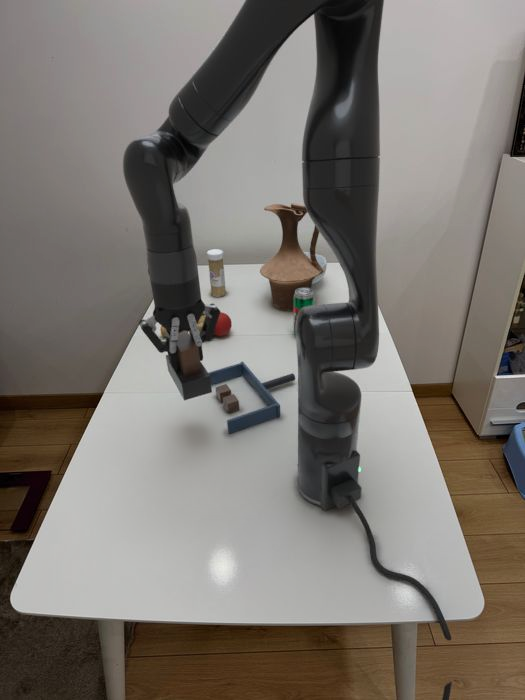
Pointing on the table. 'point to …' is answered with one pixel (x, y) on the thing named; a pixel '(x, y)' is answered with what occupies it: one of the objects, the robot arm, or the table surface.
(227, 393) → the crumb
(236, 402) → the crumb
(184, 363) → the eraser
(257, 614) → the table surface
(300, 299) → the soda can
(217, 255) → the sprinkles bottle
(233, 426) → the frame
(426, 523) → the table surface
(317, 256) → the cereal bowl
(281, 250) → the pitcher
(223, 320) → the kendama
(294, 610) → the table surface
